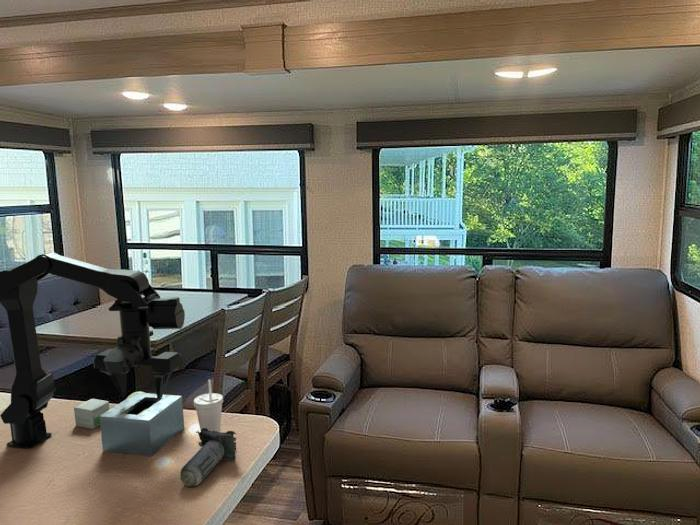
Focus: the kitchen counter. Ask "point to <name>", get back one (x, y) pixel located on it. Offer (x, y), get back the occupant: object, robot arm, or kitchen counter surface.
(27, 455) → the kitchen counter surface
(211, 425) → the smoothie
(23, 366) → the robot arm
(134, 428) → the box
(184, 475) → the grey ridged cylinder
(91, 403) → the small box
